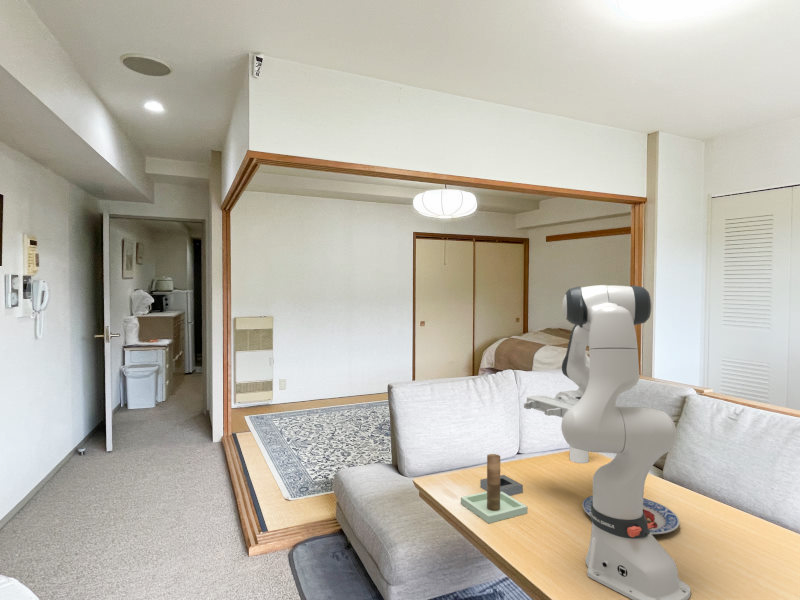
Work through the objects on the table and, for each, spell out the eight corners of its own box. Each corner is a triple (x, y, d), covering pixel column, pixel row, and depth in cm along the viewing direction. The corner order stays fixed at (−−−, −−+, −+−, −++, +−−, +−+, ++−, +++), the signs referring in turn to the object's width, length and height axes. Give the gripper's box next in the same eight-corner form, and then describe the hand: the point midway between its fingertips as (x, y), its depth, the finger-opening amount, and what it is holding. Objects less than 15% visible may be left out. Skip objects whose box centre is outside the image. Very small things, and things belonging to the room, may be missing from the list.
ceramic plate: (695, 545, 122) (695, 534, 122) (592, 536, 127) (592, 525, 127) (660, 503, 148) (660, 493, 148) (575, 496, 153) (575, 487, 153)
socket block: (522, 493, 154) (522, 484, 154) (498, 499, 150) (498, 490, 150) (503, 483, 163) (503, 474, 163) (480, 488, 159) (480, 479, 159)
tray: (527, 514, 139) (527, 506, 139) (488, 525, 133) (488, 516, 133) (497, 496, 152) (497, 488, 152) (460, 505, 146) (460, 497, 146)
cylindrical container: (585, 464, 181) (585, 400, 181) (567, 460, 186) (567, 398, 185) (590, 459, 187) (590, 397, 187) (572, 455, 191) (572, 395, 191)
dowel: (502, 509, 142) (503, 457, 142) (492, 511, 140) (492, 459, 140) (494, 504, 145) (494, 453, 145) (484, 506, 144) (484, 455, 144)
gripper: (544, 389, 163) (513, 393, 157) (592, 401, 145) (558, 405, 138) (544, 407, 163) (513, 411, 157) (591, 421, 145) (558, 427, 138)
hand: (535, 409), depth 147 cm, fingers open, 8 cm apart
